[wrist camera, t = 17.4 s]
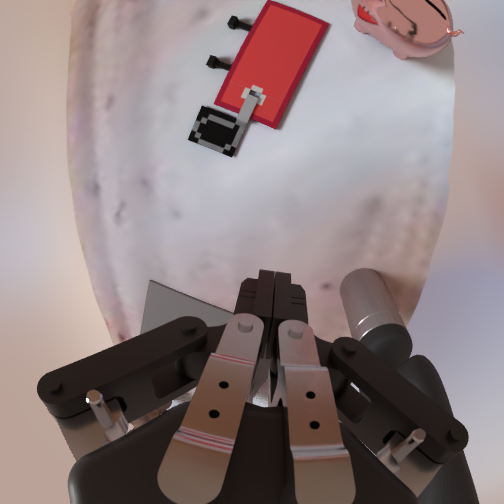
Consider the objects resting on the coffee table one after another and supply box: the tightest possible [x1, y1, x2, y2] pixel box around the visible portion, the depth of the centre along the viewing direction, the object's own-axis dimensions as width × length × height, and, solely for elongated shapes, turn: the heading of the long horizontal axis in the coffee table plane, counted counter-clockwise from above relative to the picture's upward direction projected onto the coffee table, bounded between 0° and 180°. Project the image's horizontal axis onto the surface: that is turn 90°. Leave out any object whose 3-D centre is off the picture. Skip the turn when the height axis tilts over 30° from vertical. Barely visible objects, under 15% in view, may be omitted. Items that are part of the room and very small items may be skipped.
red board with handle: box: [188, 0, 329, 157], centre depth 39 cm, size 30×3×15 cm
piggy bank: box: [351, 0, 464, 60], centre depth 25 cm, size 15×18×16 cm
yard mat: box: [140, 280, 270, 396], centre depth 67 cm, size 35×28×1 cm
